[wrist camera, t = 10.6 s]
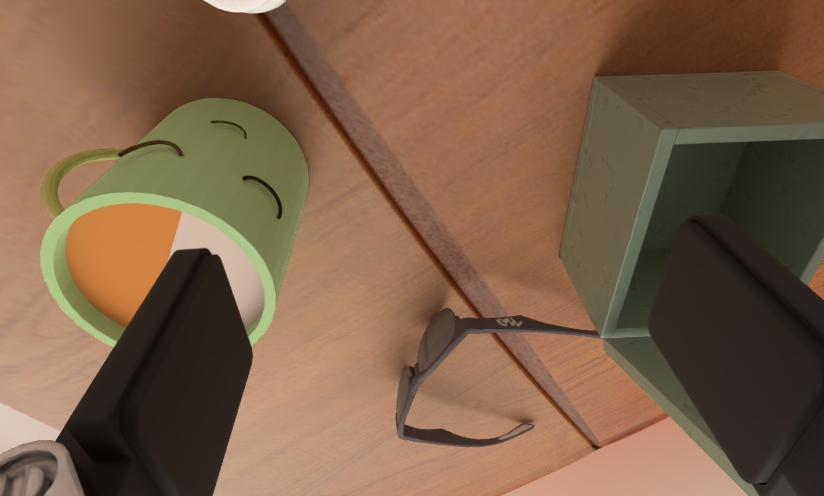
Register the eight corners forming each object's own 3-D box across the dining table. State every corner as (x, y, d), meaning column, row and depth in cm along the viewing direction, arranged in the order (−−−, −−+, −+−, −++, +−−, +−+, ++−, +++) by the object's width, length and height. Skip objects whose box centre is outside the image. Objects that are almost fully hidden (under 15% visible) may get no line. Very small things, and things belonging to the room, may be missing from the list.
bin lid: (796, 521, 15) (773, 658, 16) (1144, 500, 15) (1095, 636, 17) (603, 337, 29) (598, 419, 30) (788, 329, 30) (775, 410, 31)
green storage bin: (593, 76, 29) (662, 129, 22) (779, 70, 29) (907, 120, 22) (558, 255, 37) (600, 338, 30) (705, 249, 37) (782, 329, 30)
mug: (334, 136, 30) (310, 241, 21) (280, 255, 36) (240, 385, 26) (125, 40, 27) (-27, 113, 17) (99, 189, 32) (-29, 311, 22)
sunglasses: (442, 274, 37) (457, 320, 33) (608, 310, 43) (637, 352, 39) (374, 401, 46) (379, 450, 42) (520, 417, 51) (536, 461, 48)
